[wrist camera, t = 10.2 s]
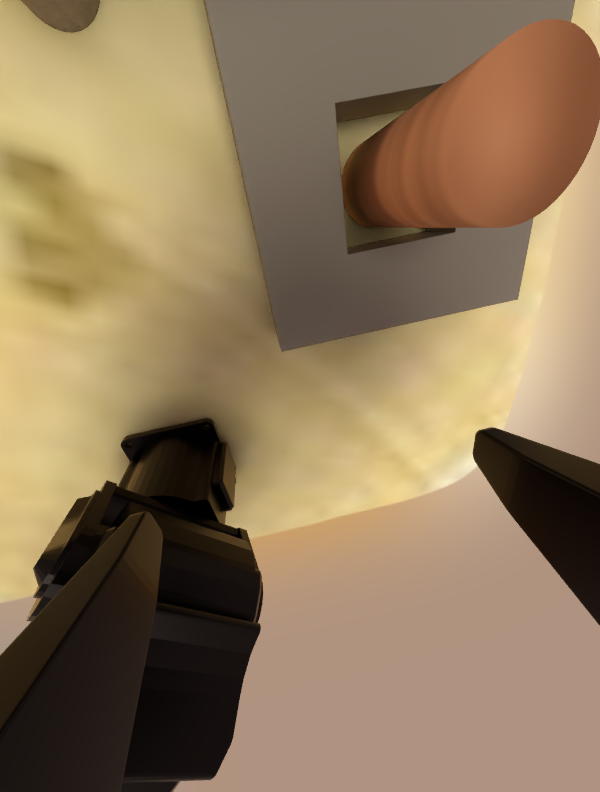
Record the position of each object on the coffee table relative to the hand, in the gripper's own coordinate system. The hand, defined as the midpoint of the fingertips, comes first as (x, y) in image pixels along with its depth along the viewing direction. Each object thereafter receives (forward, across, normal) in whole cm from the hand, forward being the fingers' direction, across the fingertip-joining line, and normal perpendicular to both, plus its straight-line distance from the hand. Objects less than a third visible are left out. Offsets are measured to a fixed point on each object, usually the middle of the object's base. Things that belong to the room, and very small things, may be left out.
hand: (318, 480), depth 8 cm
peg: (+13, -7, -7) cm, 16 cm away
